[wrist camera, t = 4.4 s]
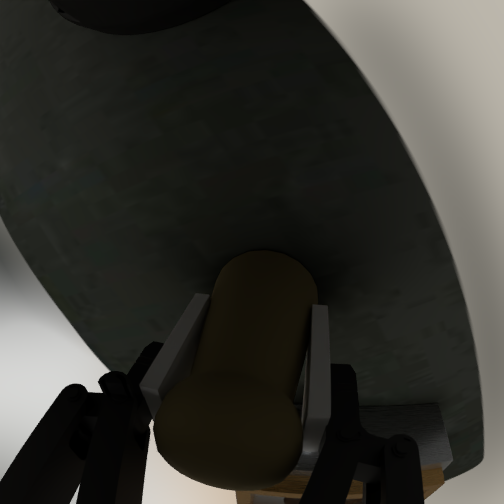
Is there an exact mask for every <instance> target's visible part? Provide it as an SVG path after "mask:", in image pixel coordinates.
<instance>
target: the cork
mask: <svg viewBox="0 0 504 504" xmlns="http://www.w3.org/2000/svg"><path fill="white" fill-rule="evenodd" d="M312 304H314V305H318V292H317V286H316V284H315V282H314V280H313V278H312V276H311V274H310V273H309V272H308V271H307V270H306V269H305V268H304V267H303V265H302V264H301V263H300V262H298V261H296V260H295V259H293V258H291V257H289V256H287V255H285V254H283V253H278V252H273V251H268V250H261V251H250V252H246V253H244V254H242V255H239V256H237V257H234V258H233V259H232V260H231V261H230V262H228V263H227V264H226V265H225V266H224V267H223V268H222V270H221V272H220V274H219V276H218V278H217V280H216V283H215V286H214V289H213V293H212V296H211V300H210V304H209V307H208V310H207V314H206V318H205V321H204V325H203V328H202V332H201V336H200V339H199V343H198V346H197V350H196V354H195V357H194V361H193V365H192V369H191V372H190V376H188V377H187V378H185V379H184V380H182V381H180V382H179V383H177V384H176V385H175V386H174V387H173V388H172V389H171V390H170V391H169V392H168V393H167V394H166V396H165V398H164V400H163V401H162V403H161V405H160V407H159V409H158V411H157V413H156V415H155V420H154V426H153V432H154V437H155V441H156V446H157V450H158V452H159V453H160V454H161V455H162V457H163V458H164V459H165V460H166V462H167V463H168V464H170V466H172V467H173V468H174V469H176V470H177V471H178V472H180V473H181V474H183V475H185V476H187V477H189V478H191V479H193V480H195V481H198V482H200V483H203V484H206V485H209V486H213V487H217V488H221V489H227V490H235V491H255V490H261V489H266V488H269V487H272V486H274V485H277V484H279V483H281V482H283V481H284V479H285V478H286V477H287V476H288V475H289V474H290V473H291V472H292V471H293V469H294V468H295V466H296V465H297V463H298V461H299V458H300V456H301V454H302V451H303V438H304V437H303V427H302V422H301V418H300V414H299V411H298V410H297V409H296V407H295V406H294V404H293V401H294V397H295V393H296V390H297V386H298V383H299V379H300V375H301V371H302V368H303V364H304V360H305V356H306V352H307V348H308V344H309V336H310V325H311V312H312Z"/></svg>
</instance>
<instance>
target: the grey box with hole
mask: <svg viewBox="0 0 504 504" xmlns="http://www.w3.org/2000/svg"><path fill="white" fill-rule="evenodd" d="M294 406H295V407H296V409H297V410H298V411H299V414H300V418H301V419H302V407H303V404H294ZM359 415H360V422H361V425H362V427H363V428H364V429H365V430H366V431H367V432H368V433H370V434H372V435H375V436H378V437H382V438H386V439H389V438H390V437H392V436H393V435H398V434H404V435H408V436H410V437H412V438H413V439H414V440H415V441H416V443H417V445H418V449H419V456H420V463H421V472H422V481H423V491H424V500H425V499H426V498H427V497H429V496H430V495H431V494H432V493H434V491H436V490H437V489H438V488H439V487H441V486H442V485H443V484H444V483H445V482H444V476H443V470H444V469H445V468H446V467H447V466H448V465H449V464H450V463H451V462H452V461H453V457H452V453H451V448H450V444H449V440H448V436H447V433H446V429H445V425H444V422H443V418H442V415H441V411H440V408H439V404H438V403H433V404H421V405H405V406H371V407H359ZM318 457H319V449H318V452H305V451H302V454H301V456H300V458H299V461H298V463H297V465H296V466H295V468H294V469H293V471H292V472H291V473H290V474H289V475H288V476H287V477H286V478H285V479H284V481H283V482H281V483H279V484H277V485H274V486H272V487H269V488H266V489H261V490H255V491H236V499H237V504H298V503H299V501H300V499H301V497H302V494H303V492H304V490H305V488H306V485H307V483H308V481H309V479H310V476H311V474H312V472H313V469H314V467H315V464H316V462H317V459H318ZM362 496H363V482H360V481H356V480H353V481H352V484H351V487H350V490H349V493H348V496H347V498H346V501H345V504H362Z"/></svg>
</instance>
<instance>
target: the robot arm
mask: <svg viewBox="0 0 504 504" xmlns="http://www.w3.org/2000/svg"><path fill="white" fill-rule="evenodd" d="M48 1H50V3H51V5H52V6H53V8H54V9H55V10H56V11H57V12H58V13H59V14H60V15H61V16H62V17H64V18H65V19H67V20H68V21H70V22H72V23H74V24H77V25H79V26H82V27H86V28H89V29H93V30H96V31H100V32H103V33H108V34H115V35H134V34H143V33H149V32H154V31H159V30H163V29H166V28H170V27H173V26H176V25H179V24H182V23H185V22H187V21H190V20H193V19H195V18H197V17H200V16H202V15H204V14H206V13H208V12H210V11H212V10H214V9H216V8H218V7H220V6H222V5H224V4H225V3H227V2H229V1H231V0H48ZM209 304H210V295H208V294H200V293H195V295H194V297H193V298H192V300H191V301H190V303H189V305H188V306H187V308H186V309H185V311H184V313H183V314H182V316H181V317H180V319H179V321H178V322H177V324H176V325H175V327H174V329H173V330H172V332H171V333H170V335H169V337H168V338H167V340H166V342H165V343H159V342H154V341H153V342H152V343H151V344H149V345H148V346H146V347H145V348H144V350H143V351H142V353H141V354H140V357H138V359H137V360H136V363H134V365H133V366H132V368H131V369H130V371H129V373H128V374H127V375H126V374H124V373H123V372H119V371H112V372H109V373H106V374H104V375H103V376H102V377H101V378H100V379H99V381H98V383H99V385H100V387H101V389H102V392H103V393H93V392H88V391H87V390H86V388H85V387H84V386H83V385H81V384H71V385H69V386H66V387H65V388H64V389H63V390H62V391H61V393H60V394H59V395H58V397H57V398H56V399H55V401H54V402H53V404H52V405H51V406H50V408H49V409H48V411H47V412H46V413H45V415H44V417H43V418H42V419H41V420H40V422H39V423H38V425H37V426H36V428H35V429H34V431H33V432H32V433H31V435H30V436H29V438H28V439H27V441H26V442H25V444H24V445H23V447H22V448H21V450H20V451H19V453H18V454H17V456H16V457H15V459H14V461H13V462H12V464H11V465H10V467H9V468H8V470H7V472H6V473H5V475H4V476H3V478H2V479H1V481H0V504H70V502H71V500H72V498H73V496H74V494H75V492H76V490H77V488H78V486H79V484H80V487H79V492H78V497H77V502H76V504H142V495H143V486H144V477H145V469H146V460H147V453H148V446H149V439H150V428H149V424H150V422H151V420H152V419H153V421H154V420H155V415H156V413H157V411H158V409H159V407H160V405H161V403H162V401H163V400H164V398H165V396H166V394H167V393H168V392H169V391H170V390H171V389H172V388H173V387H174V386H175V385H176V384H177V383H179V382H180V381H182V380H184V379H185V378H187V377H188V376H190V372H191V369H192V365H193V361H194V357H195V354H196V350H197V346H198V343H199V339H200V336H201V332H202V328H203V325H204V321H205V318H206V314H207V310H208V307H209ZM301 422H302V427H303V437H304V438H303V451H305V452H318V449H319V457H318V459H317V462H316V464H315V467H314V469H313V472H312V474H311V476H310V479H309V481H308V483H307V485H306V488H305V490H304V492H303V494H302V497H301V499H300V501H299V503H298V504H345V501H346V498H347V496H348V493H349V490H350V487H351V484H352V481H353V480H356V481H360V482H363V496H362V504H424V491H423V481H422V472H421V463H420V456H419V449H418V445H417V443H416V441H415V440H414V439H413V438H412V437H410V436H408V435H404V434H398V435H393V436H392V437H390V438H389V439H386V438H382V437H378V436H375V435H372V434H370V433H368V432H367V431H366V430H365V429H364V428H363V427H362V425H361V422H360V415H359V402H358V393H357V381H356V373H355V371H354V370H353V368H352V367H351V365H348V364H330V341H329V320H328V306H327V305H314V304H312V312H311V325H310V336H309V344H308V348H307V352H306V367H305V381H304V395H303V407H302V419H301ZM80 482H81V483H80Z"/></svg>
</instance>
